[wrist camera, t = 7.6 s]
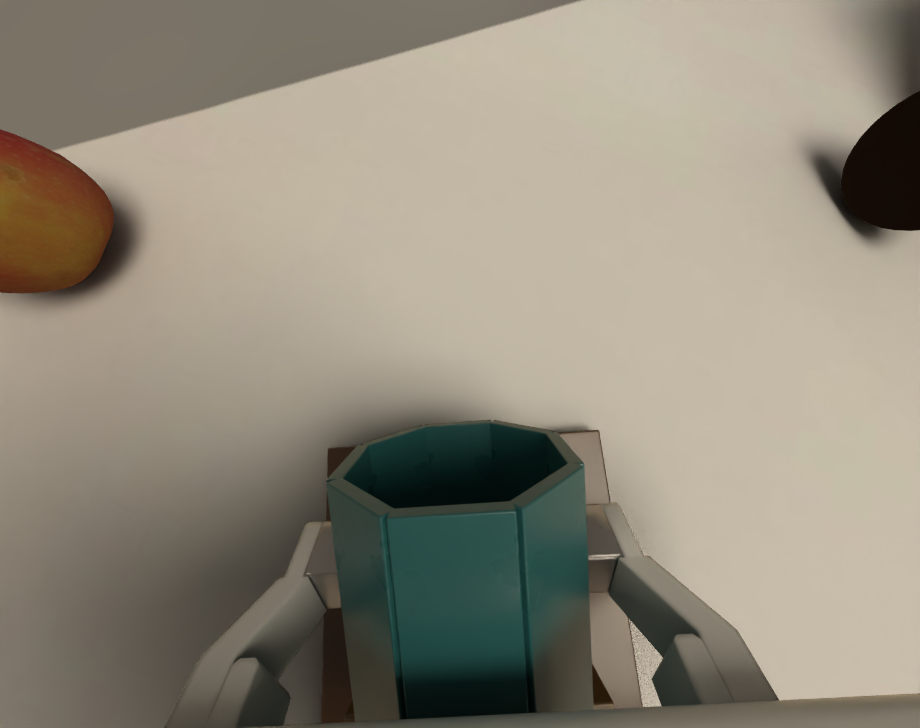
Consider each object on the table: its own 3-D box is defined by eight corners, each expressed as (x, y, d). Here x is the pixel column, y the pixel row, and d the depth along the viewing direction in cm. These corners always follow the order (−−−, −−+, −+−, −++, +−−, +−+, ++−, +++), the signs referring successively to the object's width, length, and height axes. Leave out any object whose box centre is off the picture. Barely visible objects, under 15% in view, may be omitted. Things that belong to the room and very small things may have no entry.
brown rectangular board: (667, 916, 13) (732, 1075, 10) (325, 928, 13) (276, 1086, 10) (592, 430, 17) (620, 426, 14) (335, 448, 18) (303, 448, 14)
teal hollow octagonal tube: (632, 975, 8) (621, 504, 6) (347, 982, 8) (284, 525, 7) (556, 680, 14) (543, 415, 13) (400, 688, 14) (373, 427, 13)
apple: (48, 201, 22) (-185, 65, 14) (170, 206, 22) (-3, 70, 14) (1, 313, 20) (-294, 228, 12) (132, 322, 20) (-89, 240, 12)
